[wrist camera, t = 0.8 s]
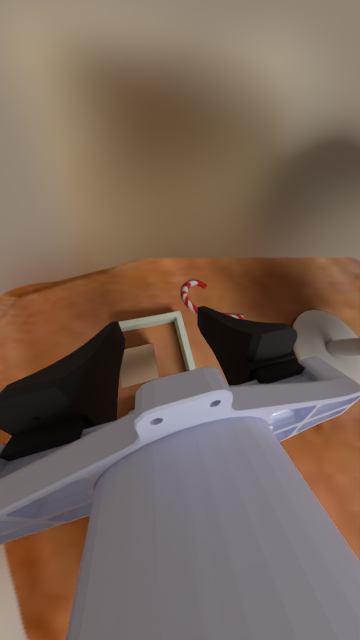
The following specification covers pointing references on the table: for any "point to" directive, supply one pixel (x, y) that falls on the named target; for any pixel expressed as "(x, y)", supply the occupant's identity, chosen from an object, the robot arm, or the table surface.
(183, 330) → the sage corner frame
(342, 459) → the table surface
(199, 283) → the candy cane
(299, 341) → the candelabra
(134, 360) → the tan cube
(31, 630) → the table surface
